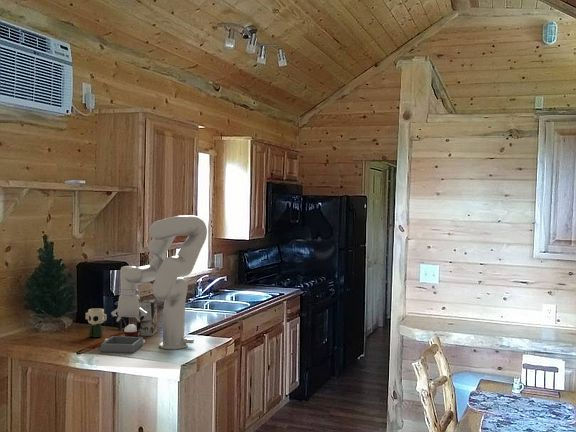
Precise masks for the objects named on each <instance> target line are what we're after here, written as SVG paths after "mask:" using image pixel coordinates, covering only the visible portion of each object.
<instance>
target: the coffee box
mask: <svg viewBox="0 0 576 432" xmlns="http://www.w3.org/2000/svg"><path fill="white" fill-rule="evenodd" d="M140 303H141V309H143V310H144V311H146V312H147V314H146V316H145V318H144V319H143V320H142V321H141V328H140V330H139V331H141V335H140V336H142V337H144V336H146V337H147V336H148V337H150V336H151V337H152V336H154V335H156V333H157V332H158V331H157V330H158V328H157V327H158V326H157V325H158V299H144V300H143V301H140ZM142 315H143V313H142V312H141V315H140V317H142Z"/></svg>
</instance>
